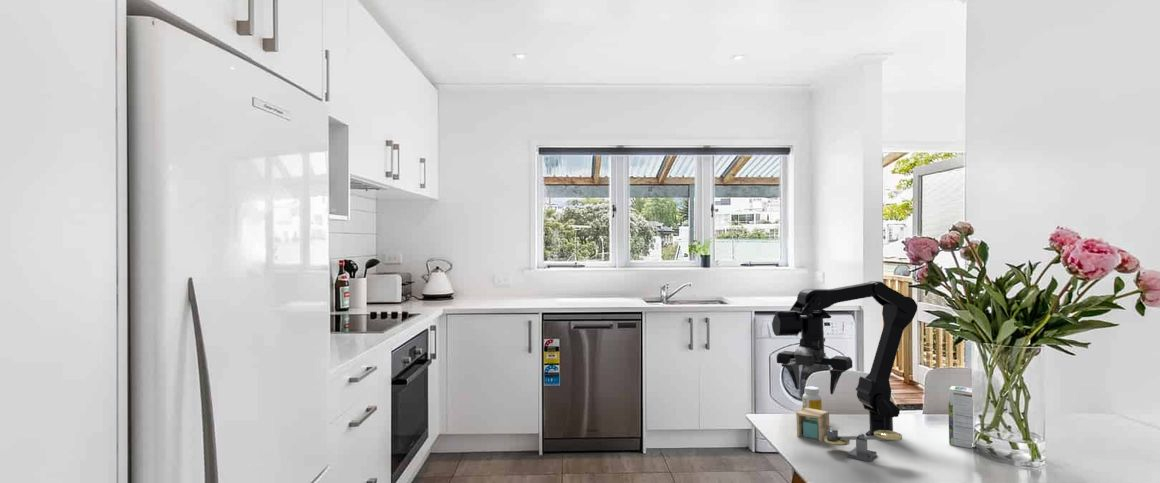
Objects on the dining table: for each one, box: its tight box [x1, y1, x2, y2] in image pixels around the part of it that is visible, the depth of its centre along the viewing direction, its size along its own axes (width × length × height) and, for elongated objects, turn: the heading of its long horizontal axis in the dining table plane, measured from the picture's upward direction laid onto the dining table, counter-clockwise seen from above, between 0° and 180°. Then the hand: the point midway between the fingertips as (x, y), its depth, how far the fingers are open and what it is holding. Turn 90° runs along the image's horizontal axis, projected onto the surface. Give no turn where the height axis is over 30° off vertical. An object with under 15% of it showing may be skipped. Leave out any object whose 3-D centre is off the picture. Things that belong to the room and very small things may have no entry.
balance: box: [823, 428, 903, 463], centre depth 138 cm, size 6×18×7 cm, turn 46°
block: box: [802, 419, 819, 440], centre depth 154 cm, size 4×4×4 cm
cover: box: [795, 408, 831, 442], centre depth 154 cm, size 6×6×6 cm
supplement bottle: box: [801, 385, 823, 420], centre depth 169 cm, size 5×5×10 cm
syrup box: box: [947, 385, 973, 449], centre depth 145 cm, size 6×6×14 cm
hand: (814, 391), depth 153 cm, fingers open, 9 cm apart
